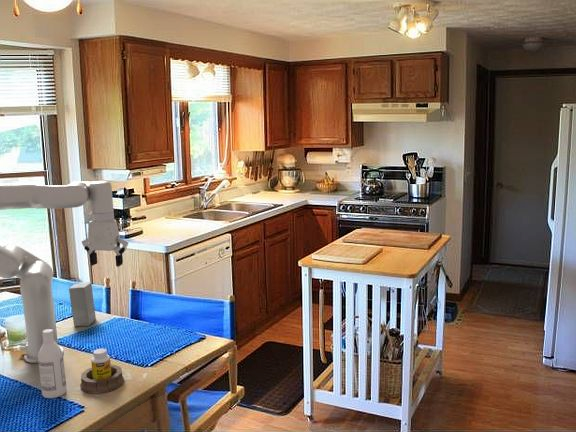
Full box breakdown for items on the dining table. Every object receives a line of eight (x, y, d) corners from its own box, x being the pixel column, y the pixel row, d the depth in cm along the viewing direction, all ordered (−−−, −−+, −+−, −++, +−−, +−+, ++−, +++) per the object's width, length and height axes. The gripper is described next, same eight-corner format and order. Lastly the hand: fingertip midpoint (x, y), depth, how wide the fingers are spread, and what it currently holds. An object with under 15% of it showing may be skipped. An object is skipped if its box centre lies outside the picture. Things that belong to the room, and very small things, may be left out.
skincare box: (89, 326, 228) (85, 287, 225) (71, 326, 228) (67, 288, 225) (96, 318, 236) (93, 281, 233) (79, 318, 236) (75, 281, 233)
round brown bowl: (71, 392, 175) (70, 381, 174) (94, 372, 188) (93, 362, 187) (111, 395, 173) (110, 384, 172) (131, 375, 185) (130, 365, 184)
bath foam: (59, 385, 180) (52, 324, 176) (71, 392, 175) (64, 329, 171) (37, 394, 174) (30, 331, 171) (49, 401, 170) (42, 337, 166)
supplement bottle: (96, 387, 176) (93, 356, 174) (91, 380, 181) (88, 350, 179) (114, 382, 179) (111, 351, 177) (109, 376, 184) (106, 345, 182)
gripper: (73, 218, 198) (78, 267, 201) (120, 219, 194) (124, 269, 197) (86, 214, 205) (90, 261, 208) (130, 215, 201) (134, 263, 204)
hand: (106, 265), depth 203 cm, fingers open, 9 cm apart
